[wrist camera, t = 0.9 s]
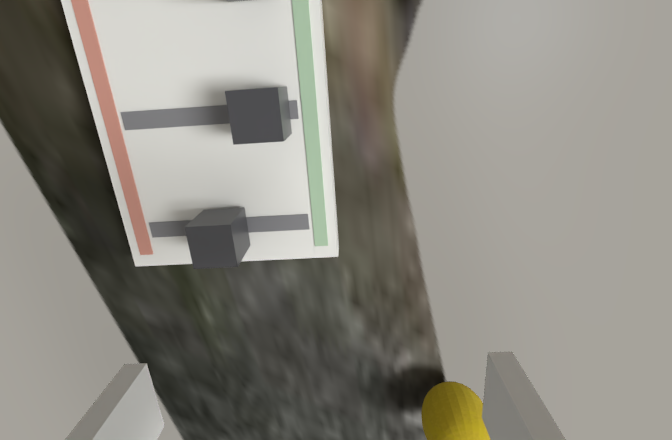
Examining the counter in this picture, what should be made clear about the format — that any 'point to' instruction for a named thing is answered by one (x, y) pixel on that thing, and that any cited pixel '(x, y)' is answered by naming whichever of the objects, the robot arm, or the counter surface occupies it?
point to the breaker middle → (259, 115)
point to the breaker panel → (209, 120)
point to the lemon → (453, 413)
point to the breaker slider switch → (218, 238)
